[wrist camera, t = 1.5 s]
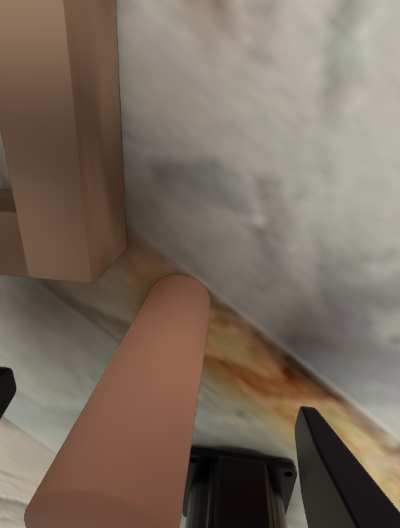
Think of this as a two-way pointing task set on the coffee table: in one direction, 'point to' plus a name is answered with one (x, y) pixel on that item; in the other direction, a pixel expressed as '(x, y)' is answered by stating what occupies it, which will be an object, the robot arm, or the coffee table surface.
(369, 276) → the coffee table surface
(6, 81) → the socket
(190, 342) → the peg
